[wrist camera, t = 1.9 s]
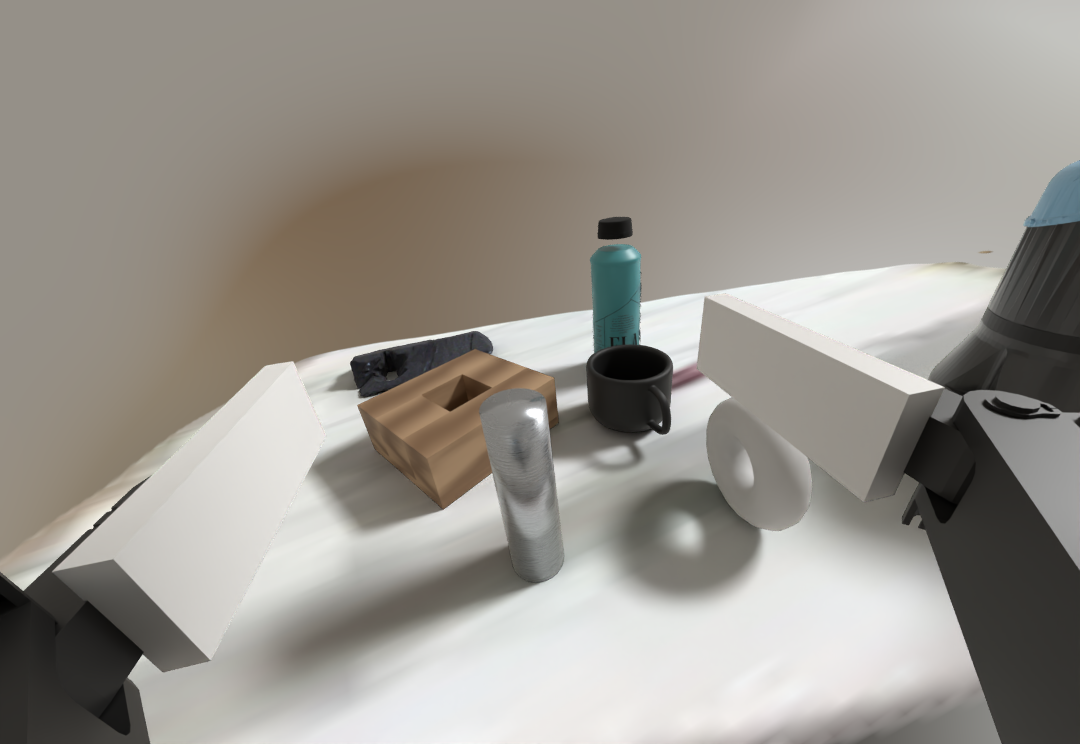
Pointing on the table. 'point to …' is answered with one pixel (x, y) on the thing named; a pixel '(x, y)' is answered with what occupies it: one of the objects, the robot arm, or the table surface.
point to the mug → (630, 388)
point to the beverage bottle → (615, 287)
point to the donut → (757, 468)
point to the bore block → (447, 421)
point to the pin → (524, 480)
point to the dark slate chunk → (412, 360)
